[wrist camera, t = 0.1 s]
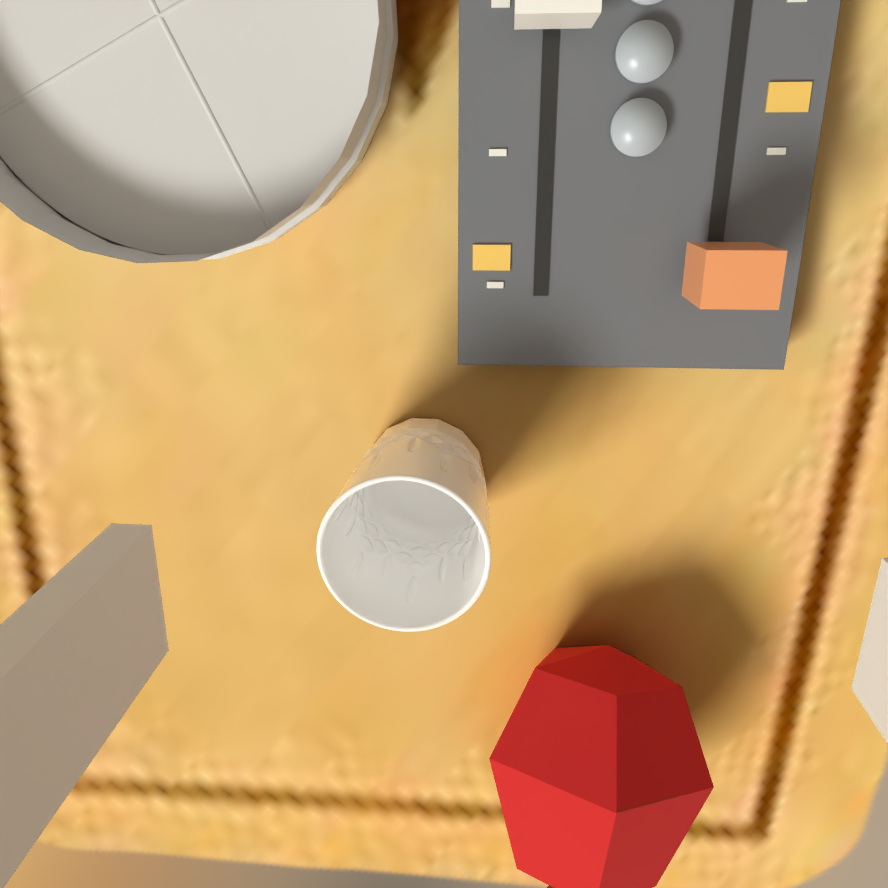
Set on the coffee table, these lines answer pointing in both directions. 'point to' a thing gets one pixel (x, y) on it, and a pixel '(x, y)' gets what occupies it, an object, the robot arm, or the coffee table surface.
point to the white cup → (409, 529)
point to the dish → (186, 117)
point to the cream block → (556, 14)
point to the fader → (734, 275)
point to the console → (632, 176)
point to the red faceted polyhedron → (599, 771)
